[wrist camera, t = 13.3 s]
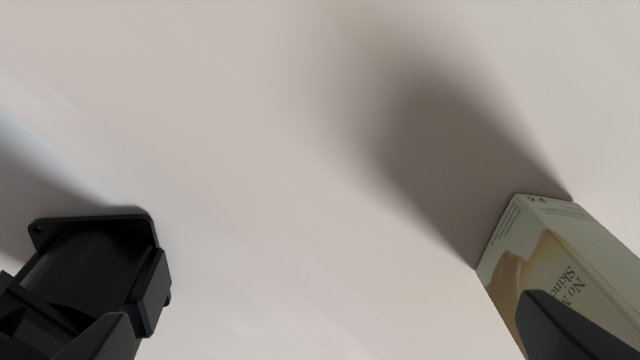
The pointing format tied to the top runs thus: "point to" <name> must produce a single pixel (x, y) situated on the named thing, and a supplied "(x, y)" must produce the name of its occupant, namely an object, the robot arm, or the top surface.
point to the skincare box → (562, 265)
